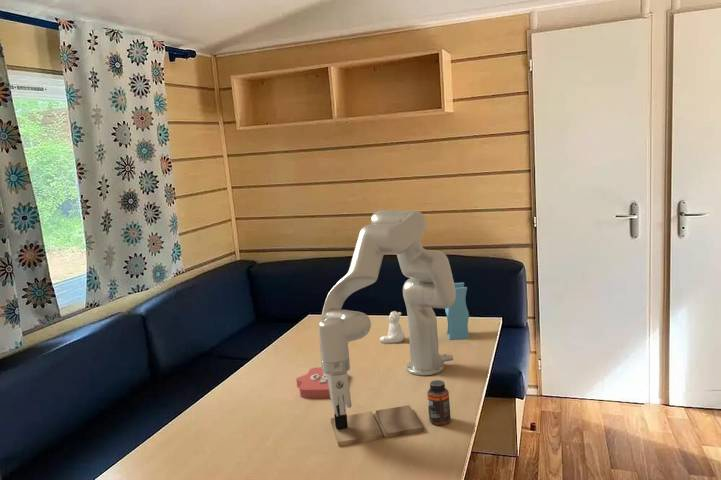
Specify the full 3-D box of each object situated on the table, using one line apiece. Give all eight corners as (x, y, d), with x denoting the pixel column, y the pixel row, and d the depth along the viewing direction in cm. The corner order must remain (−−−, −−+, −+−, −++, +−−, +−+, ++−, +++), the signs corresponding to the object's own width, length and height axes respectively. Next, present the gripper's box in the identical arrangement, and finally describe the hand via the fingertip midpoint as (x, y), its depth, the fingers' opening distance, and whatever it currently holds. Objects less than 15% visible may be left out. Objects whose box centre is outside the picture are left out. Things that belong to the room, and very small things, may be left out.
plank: (372, 415, 175) (371, 411, 174) (382, 438, 161) (382, 434, 161) (330, 422, 173) (330, 418, 172) (338, 446, 159) (337, 442, 159)
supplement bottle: (452, 416, 170) (450, 378, 168) (448, 427, 164) (446, 388, 162) (431, 415, 172) (429, 377, 170) (427, 425, 166) (424, 386, 164)
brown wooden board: (409, 408, 177) (409, 405, 176) (423, 431, 163) (422, 427, 163) (373, 414, 175) (373, 411, 174) (384, 438, 161) (383, 433, 161)
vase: (470, 338, 230) (467, 287, 226) (449, 340, 230) (446, 289, 226) (466, 331, 237) (464, 282, 234) (446, 333, 238) (443, 283, 234)
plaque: (302, 365, 207) (345, 365, 205) (303, 376, 208) (346, 375, 206) (289, 388, 190) (335, 387, 188) (290, 399, 191) (336, 399, 188)
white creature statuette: (392, 335, 241) (389, 306, 239) (410, 338, 236) (408, 308, 234) (378, 343, 233) (376, 313, 231) (397, 346, 228) (395, 315, 226)
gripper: (354, 372, 156) (360, 438, 159) (345, 352, 171) (350, 413, 174) (325, 376, 155) (331, 443, 158) (318, 356, 169) (324, 417, 173)
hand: (341, 427), depth 166 cm, fingers closed
